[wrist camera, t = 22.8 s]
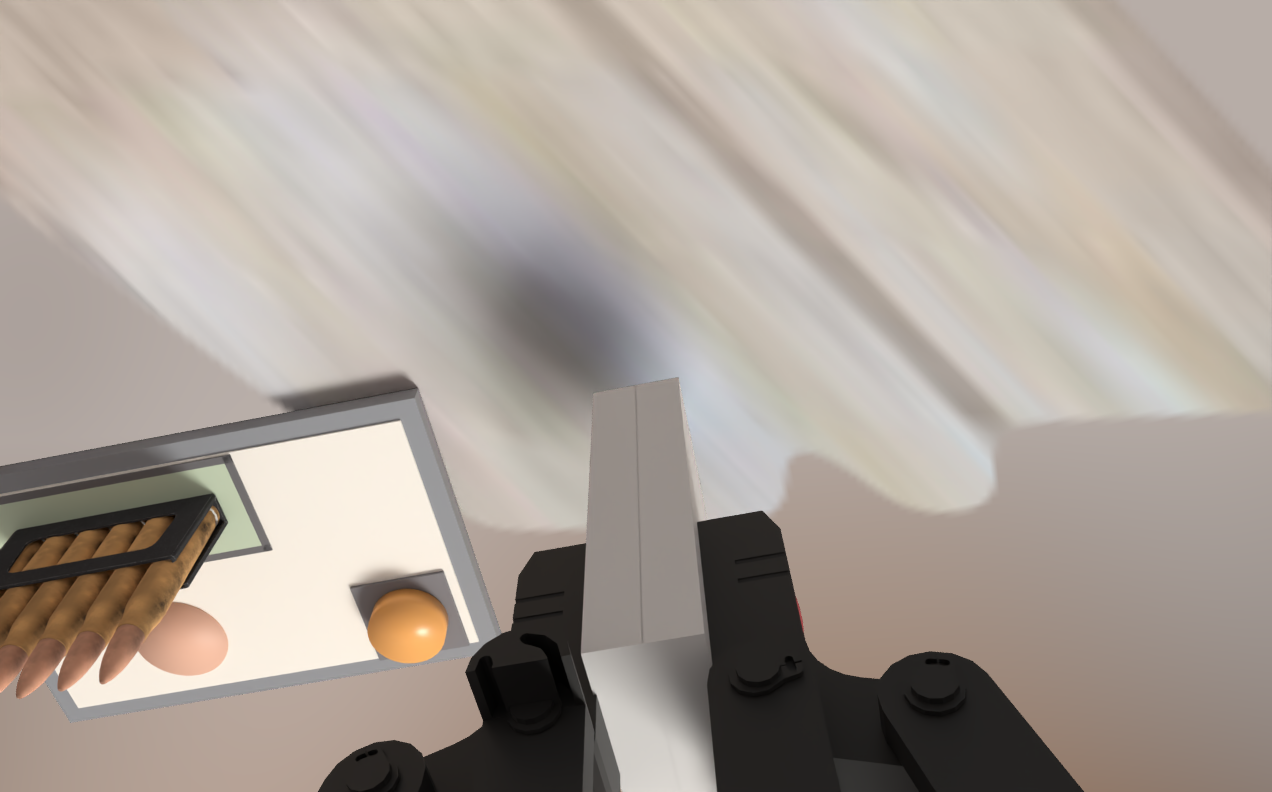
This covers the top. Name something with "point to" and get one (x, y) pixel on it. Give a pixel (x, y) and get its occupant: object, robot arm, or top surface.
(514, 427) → the top surface
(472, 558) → the board
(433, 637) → the button
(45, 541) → the ammunition clip
